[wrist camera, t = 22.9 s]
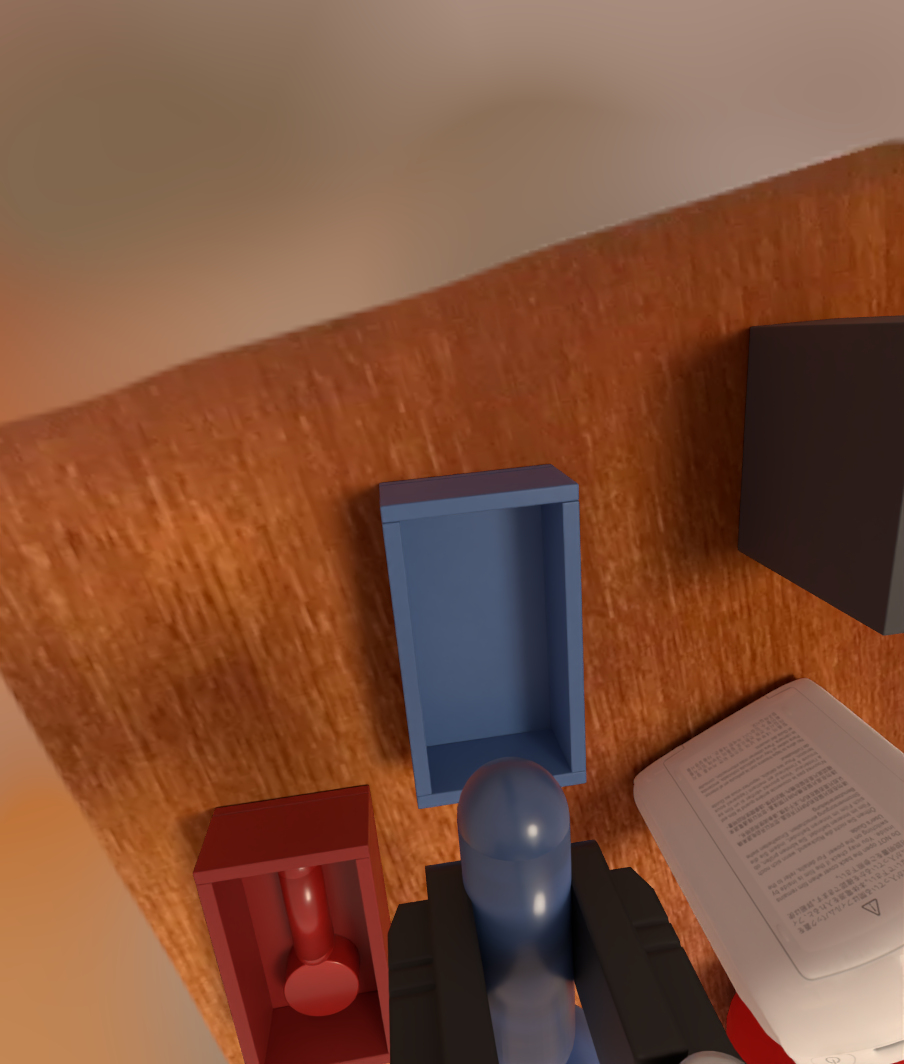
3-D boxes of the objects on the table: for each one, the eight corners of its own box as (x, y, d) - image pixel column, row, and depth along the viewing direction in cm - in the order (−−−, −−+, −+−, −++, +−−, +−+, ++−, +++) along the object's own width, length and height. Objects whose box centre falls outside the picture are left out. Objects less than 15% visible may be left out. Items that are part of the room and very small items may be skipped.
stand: (749, 326, 24) (927, 321, 16) (839, 318, 24) (1054, 308, 16) (737, 550, 26) (883, 636, 19) (817, 540, 27) (993, 621, 19)
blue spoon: (399, 749, 10) (404, 829, 9) (595, 721, 11) (638, 792, 9) (445, 1124, 13) (456, 1240, 12) (600, 1093, 14) (632, 1201, 12)
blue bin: (379, 483, 24) (379, 506, 20) (551, 463, 24) (578, 483, 21) (413, 752, 27) (418, 810, 24) (561, 730, 28) (586, 783, 25)
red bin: (214, 807, 27) (192, 873, 24) (369, 784, 28) (368, 845, 24) (264, 1008, 31) (251, 1089, 28) (400, 984, 31) (403, 1060, 28)
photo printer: (654, 834, 30) (829, 1147, 19) (613, 776, 29) (775, 1074, 17) (839, 723, 30) (1141, 975, 18) (806, 658, 28) (1109, 885, 17)
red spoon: (257, 835, 27) (249, 868, 25) (336, 822, 27) (333, 855, 26) (293, 992, 30) (288, 1032, 28) (364, 979, 30) (363, 1018, 29)
